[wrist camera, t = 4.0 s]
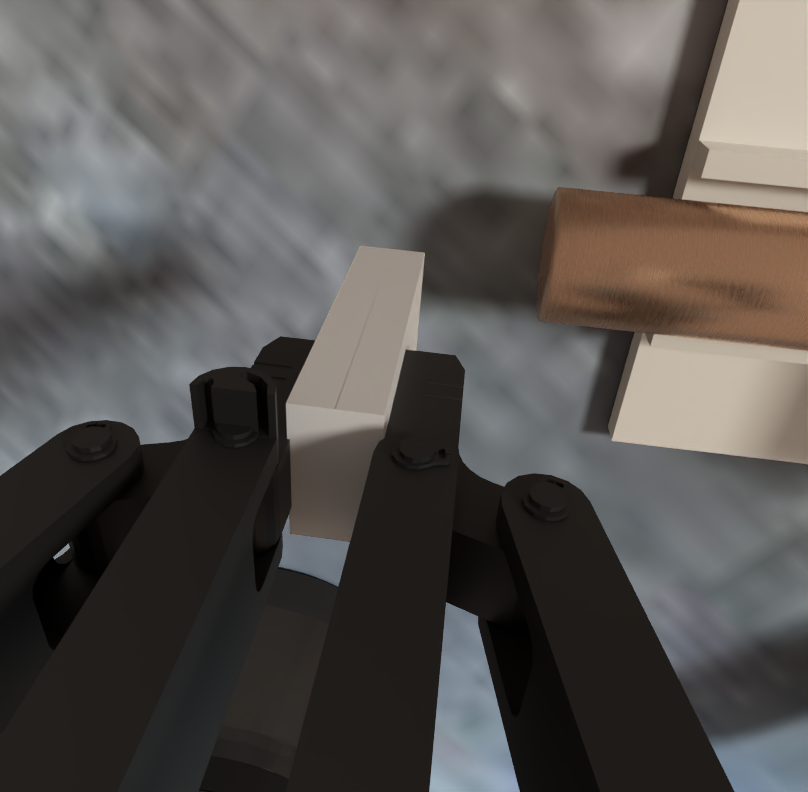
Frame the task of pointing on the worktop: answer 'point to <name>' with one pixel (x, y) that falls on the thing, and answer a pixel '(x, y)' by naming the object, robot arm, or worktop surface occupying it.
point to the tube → (675, 268)
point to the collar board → (749, 186)
